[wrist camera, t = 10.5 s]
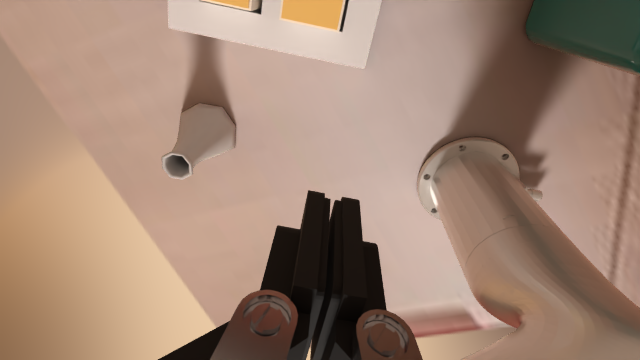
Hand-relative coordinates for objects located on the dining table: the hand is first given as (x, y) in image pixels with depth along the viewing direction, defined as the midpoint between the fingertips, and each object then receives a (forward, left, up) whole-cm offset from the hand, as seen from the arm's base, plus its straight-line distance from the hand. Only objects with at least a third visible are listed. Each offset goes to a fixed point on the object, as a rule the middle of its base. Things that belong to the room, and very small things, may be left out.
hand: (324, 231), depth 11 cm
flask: (+14, +12, -31) cm, 36 cm away
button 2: (+3, -6, -27) cm, 28 cm away
